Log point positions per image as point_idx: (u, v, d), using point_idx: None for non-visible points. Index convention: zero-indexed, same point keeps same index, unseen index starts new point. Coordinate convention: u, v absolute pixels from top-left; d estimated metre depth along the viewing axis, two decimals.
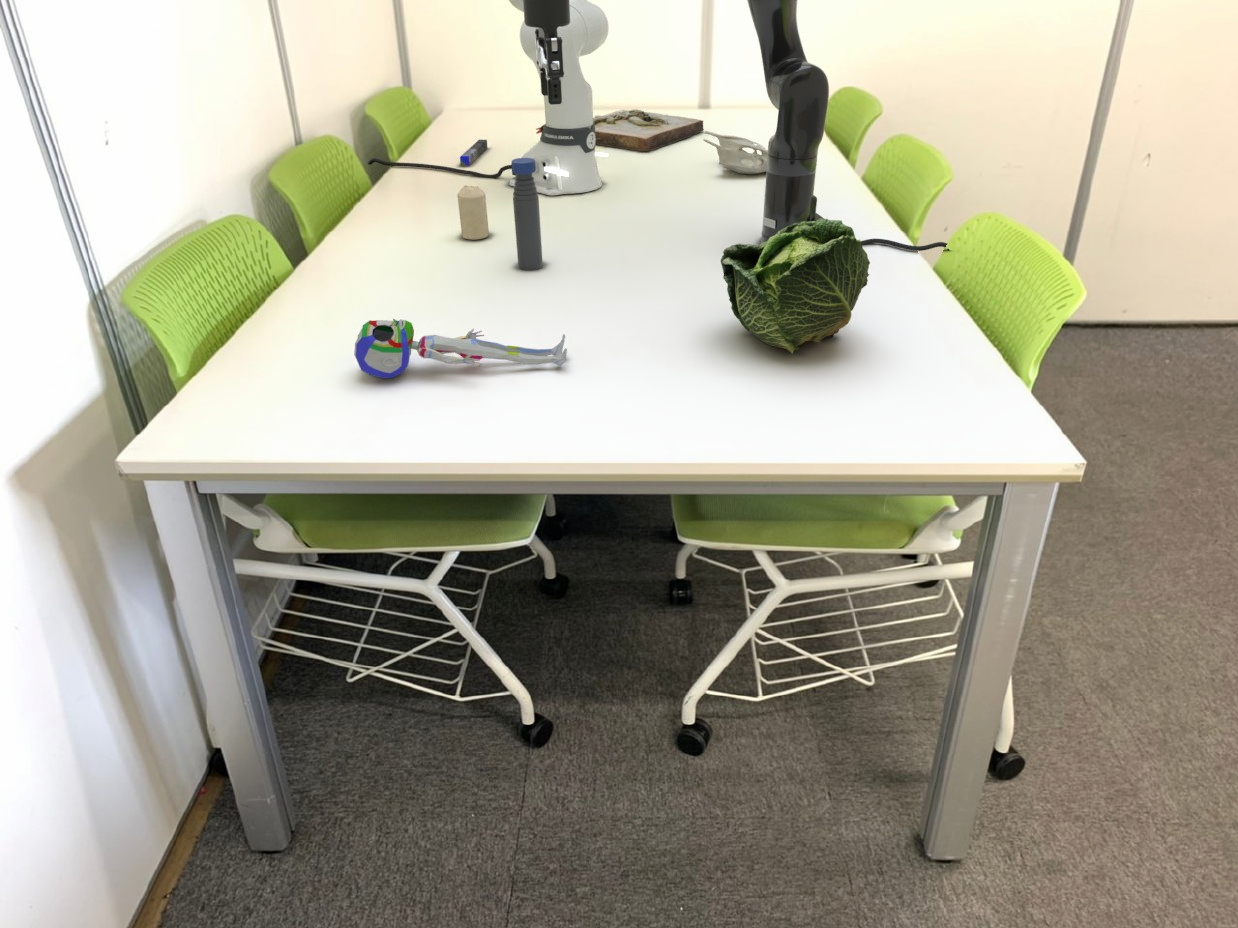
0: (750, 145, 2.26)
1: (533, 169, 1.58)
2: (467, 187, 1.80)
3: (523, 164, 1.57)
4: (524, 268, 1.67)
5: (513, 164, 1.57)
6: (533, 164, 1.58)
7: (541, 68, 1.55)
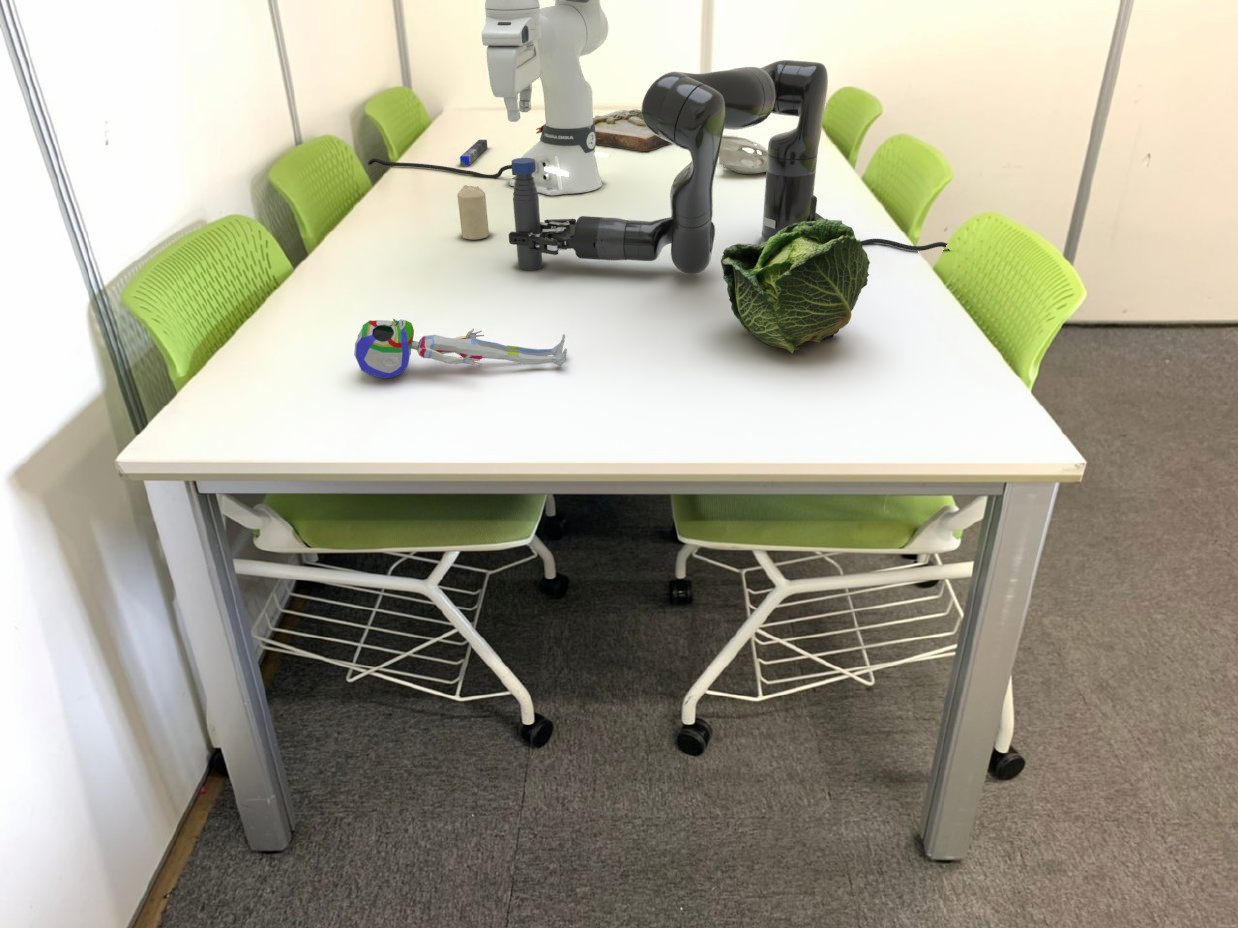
0: (750, 145, 2.26)
1: (533, 169, 1.58)
2: (467, 187, 1.80)
3: (523, 164, 1.57)
4: (524, 268, 1.67)
5: (513, 164, 1.57)
6: (533, 164, 1.58)
7: None
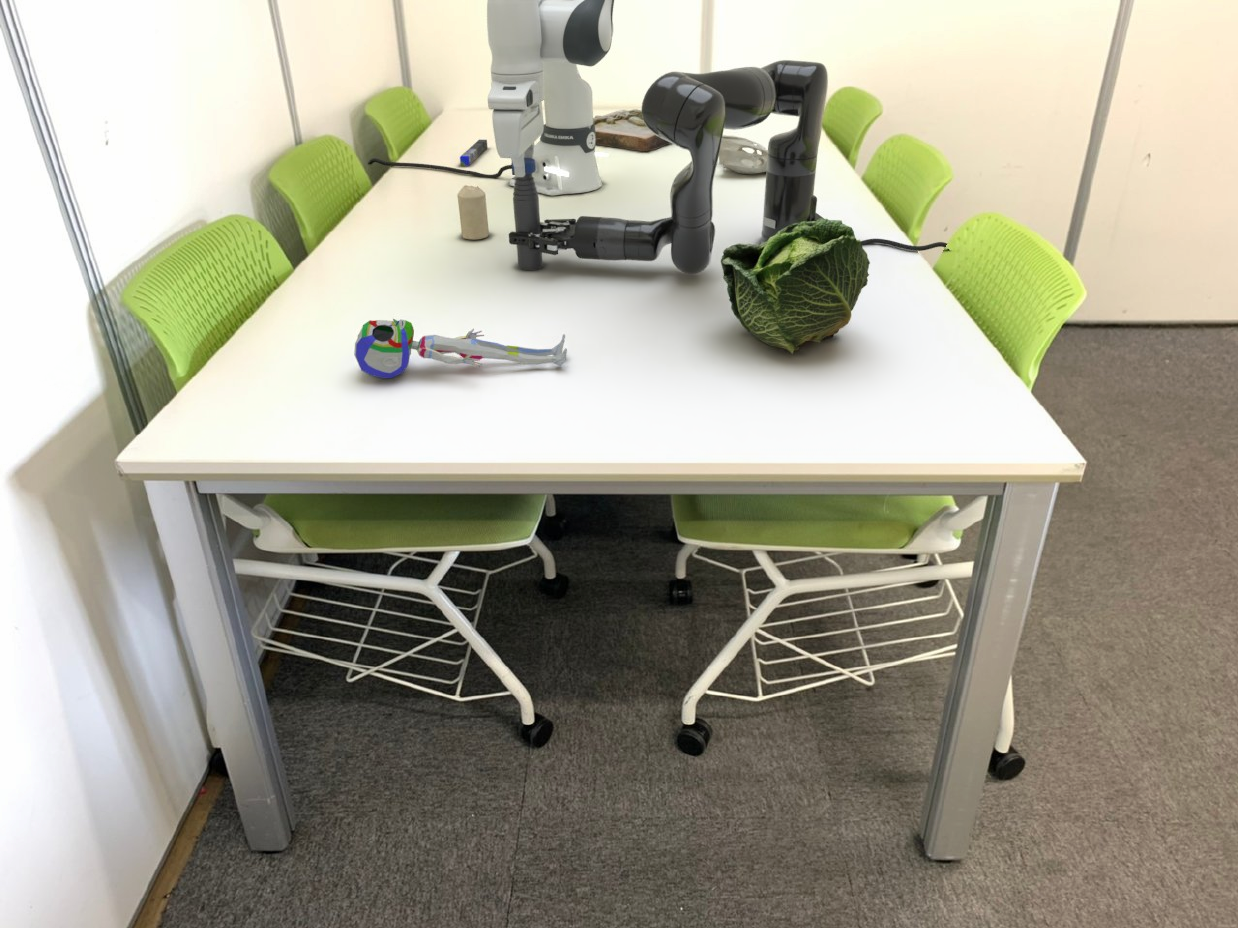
0: (750, 145, 2.26)
1: (533, 169, 1.58)
2: (467, 187, 1.80)
3: None
4: (524, 268, 1.67)
5: None
6: (533, 164, 1.58)
7: None
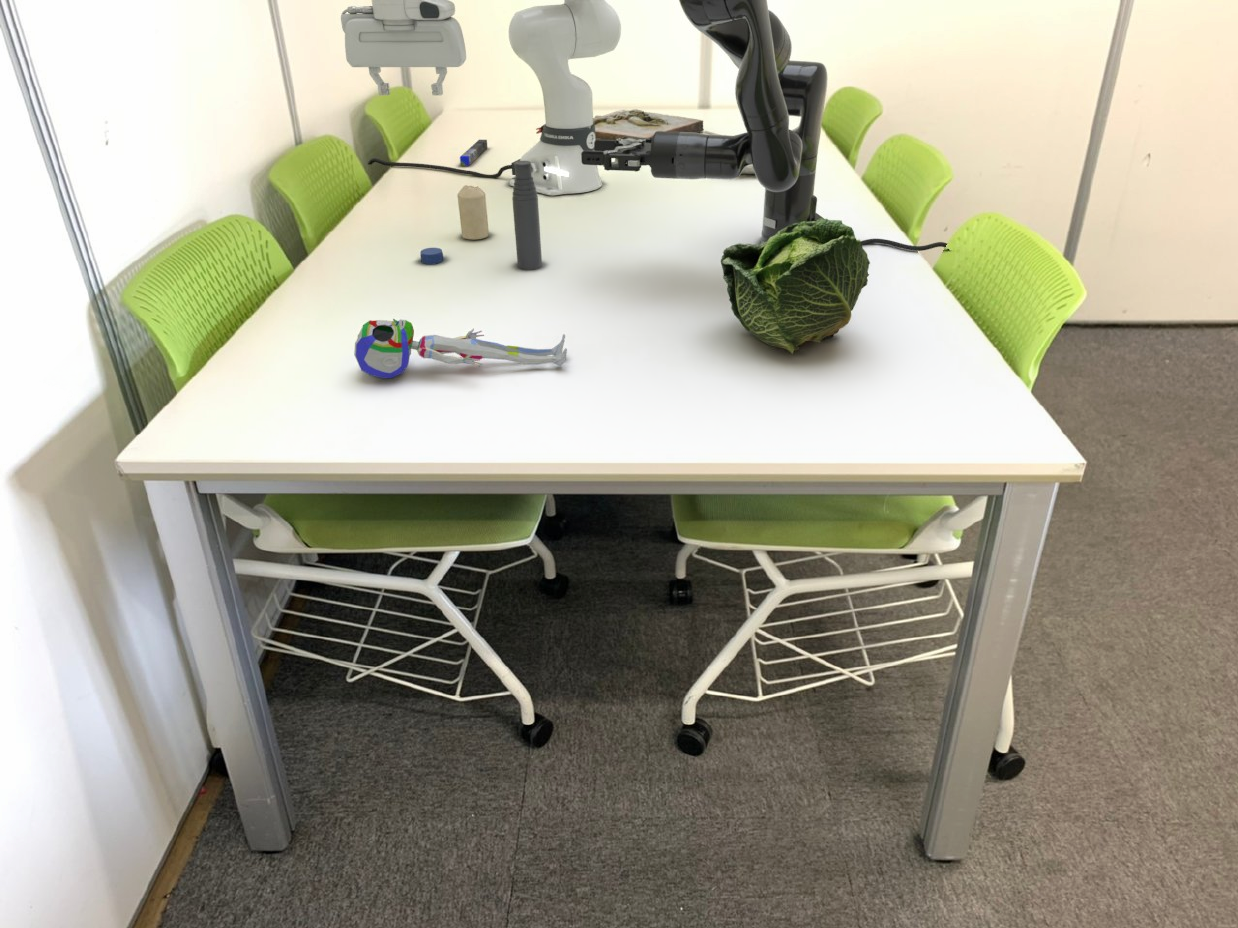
0: None
1: None
2: (467, 187, 1.80)
3: (441, 250, 1.71)
4: (523, 268, 1.67)
5: (438, 255, 1.70)
6: None
7: None
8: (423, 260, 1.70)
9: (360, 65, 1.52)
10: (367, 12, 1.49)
